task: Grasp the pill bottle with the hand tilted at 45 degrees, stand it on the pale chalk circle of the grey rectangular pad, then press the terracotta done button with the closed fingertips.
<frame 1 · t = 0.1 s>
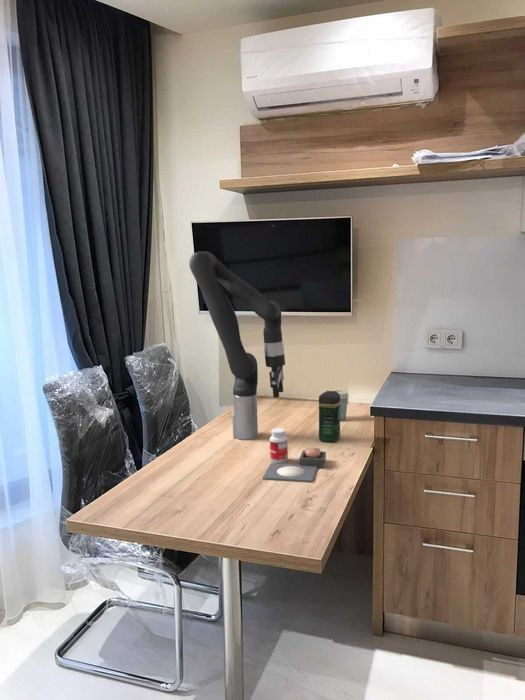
hand: (278, 394, 226), 17 cm above the table, tool pointing down, fingers open, 8 cm apart
pill bottle: (279, 461, 204), on the table
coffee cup: (338, 419, 252), on the table
coffee jar: (329, 439, 226), on the table
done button: (312, 452, 200), point 4 cm above the table, slide at 0.0 cm
button housing: (312, 463, 201), on the table
grey rectangular pad: (290, 473, 192), on the table
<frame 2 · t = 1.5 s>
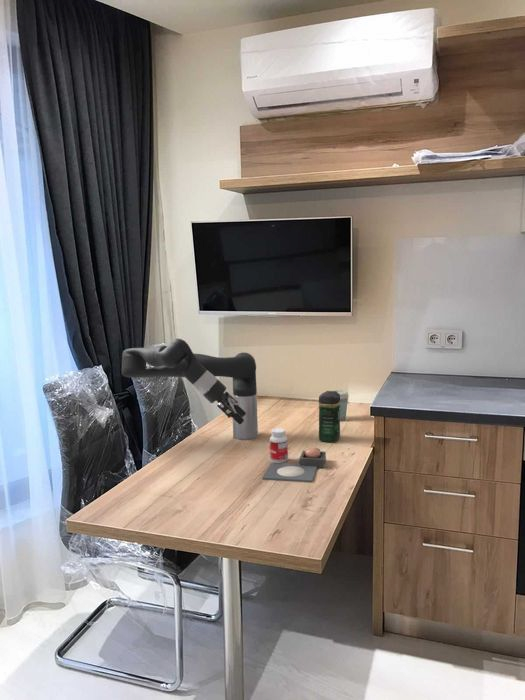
hand: (243, 418, 202), 15 cm above the table, tool tilted 45°, fingers open, 8 cm apart
nothing on the table moved.
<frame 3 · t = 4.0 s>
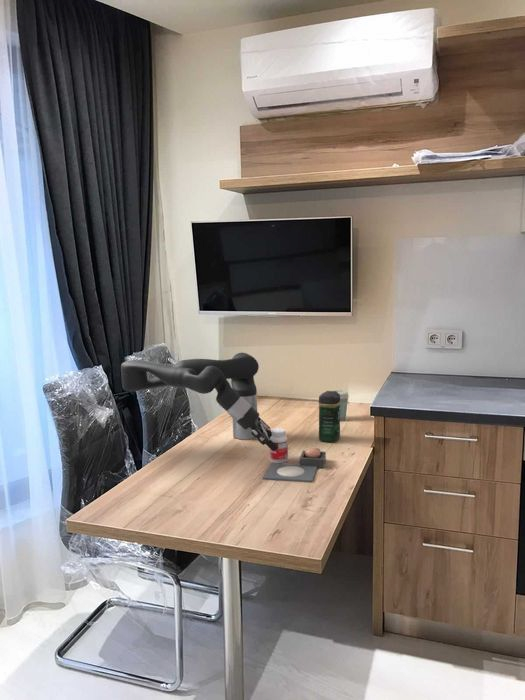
hand: (276, 445, 202), 6 cm above the table, tool tilted 45°, fingers open, 8 cm apart
nothing on the table moved.
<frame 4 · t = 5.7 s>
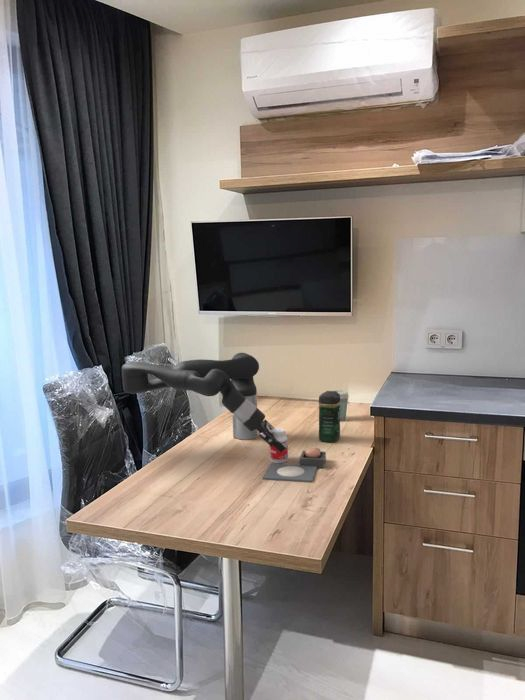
hand: (283, 446, 203), 5 cm above the table, tool tilted 45°, fingers closed on pill bottle, 6 cm apart
pill bottle: (279, 461, 204), on the table, touching gripper
everything else where it was.
when the fingers open (7 cm above the table, at t = 10.9 s): pill bottle stays where it is, resting on grey rectangular pad.
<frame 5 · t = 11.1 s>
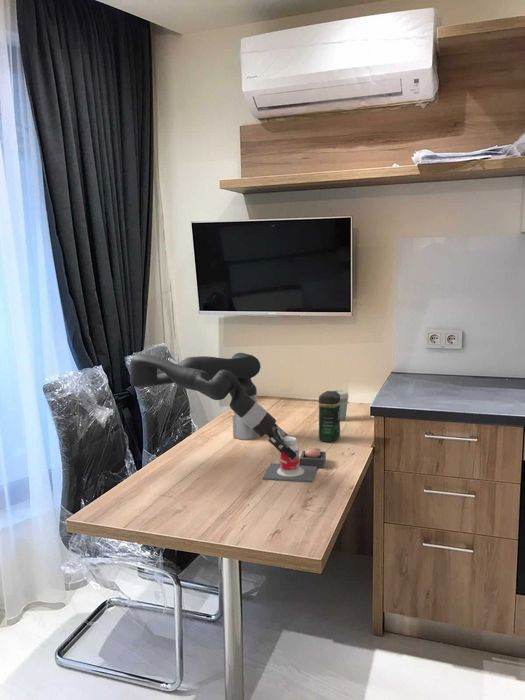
hand: (294, 452, 191), 7 cm above the table, tool tilted 45°, fingers open, 7 cm apart
pill bottle: (290, 471, 192), point 1 cm above the table, touching grey rectangular pad
everything else where it was.
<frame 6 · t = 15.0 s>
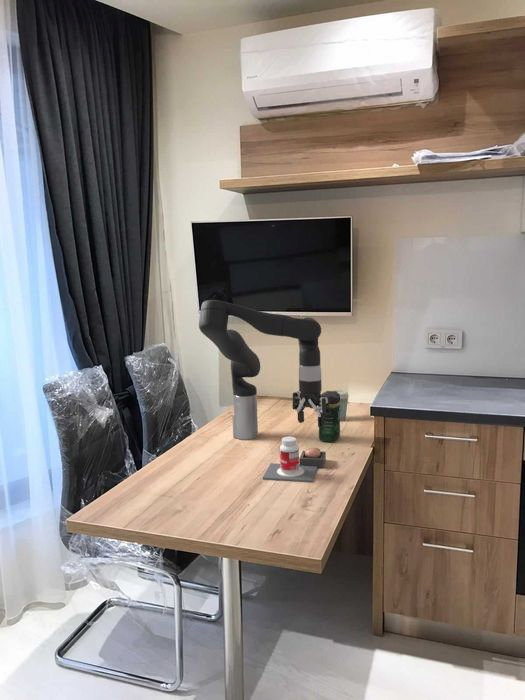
hand: (310, 424, 198), 14 cm above the table, tool pointing down, fingers open, 8 cm apart
nothing on the table moved.
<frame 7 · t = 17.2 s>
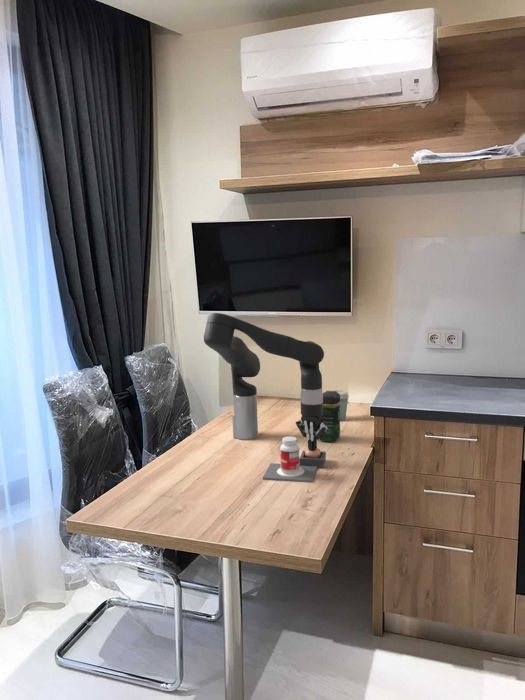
hand: (312, 450, 200), 5 cm above the table, tool pointing down, fingers closed
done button: (312, 452, 200), point 4 cm above the table, slide at 0.0 cm, touching gripper
everything else where it was.
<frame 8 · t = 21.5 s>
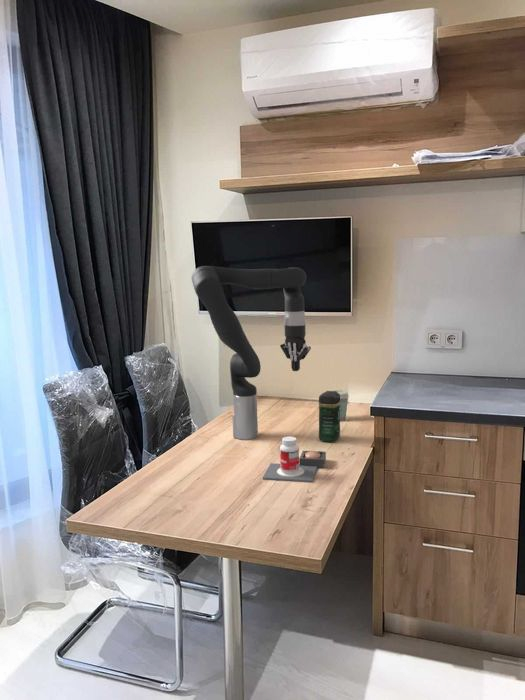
hand: (295, 370, 213), 29 cm above the table, tool pointing down, fingers closed
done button: (312, 456, 200), point 2 cm above the table, slide at 1.5 cm
everything else where it was.
at the end: pill bottle 0.2 cm off-centre on the grey rectangular pad, point 0.5 cm above the grey rectangular pad's base; pill bottle tilted 0°; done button slide at 1.5 cm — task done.
